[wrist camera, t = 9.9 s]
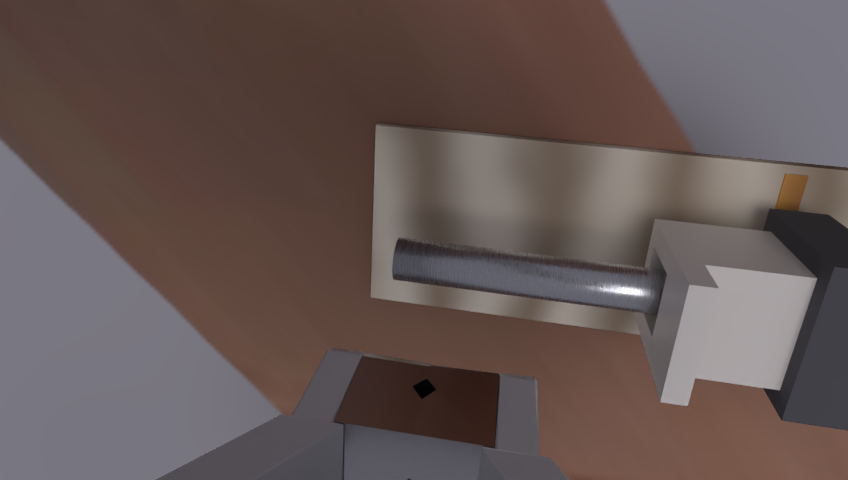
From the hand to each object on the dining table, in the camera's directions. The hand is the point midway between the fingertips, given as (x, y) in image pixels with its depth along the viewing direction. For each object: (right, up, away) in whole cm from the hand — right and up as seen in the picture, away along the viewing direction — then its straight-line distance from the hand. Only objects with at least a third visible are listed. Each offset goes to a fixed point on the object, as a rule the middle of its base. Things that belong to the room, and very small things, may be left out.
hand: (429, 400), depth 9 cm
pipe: (+11, 0, +24) cm, 27 cm away
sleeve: (+15, 0, +25) cm, 30 cm away
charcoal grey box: (+20, 0, +25) cm, 32 cm away
